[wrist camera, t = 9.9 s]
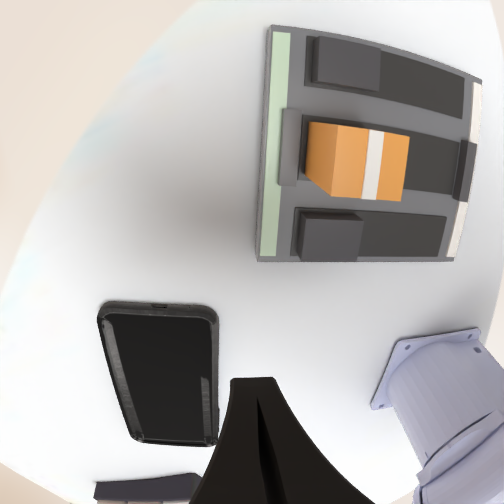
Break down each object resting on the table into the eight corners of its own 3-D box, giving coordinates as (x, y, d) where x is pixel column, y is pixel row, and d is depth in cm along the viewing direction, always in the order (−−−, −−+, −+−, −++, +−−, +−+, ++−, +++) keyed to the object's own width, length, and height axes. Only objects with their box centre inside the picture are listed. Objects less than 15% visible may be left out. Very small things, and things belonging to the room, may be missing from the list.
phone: (132, 441, 24) (93, 306, 18) (134, 432, 25) (99, 297, 19) (219, 447, 25) (221, 313, 19) (219, 437, 26) (221, 302, 20)
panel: (470, 79, 15) (494, 80, 12) (443, 253, 19) (463, 269, 17) (267, 30, 13) (275, 17, 11) (255, 252, 18) (260, 272, 16)
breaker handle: (367, 128, 14) (411, 136, 11) (361, 179, 15) (401, 202, 12) (308, 121, 14) (338, 125, 10) (304, 175, 15) (331, 196, 11)
